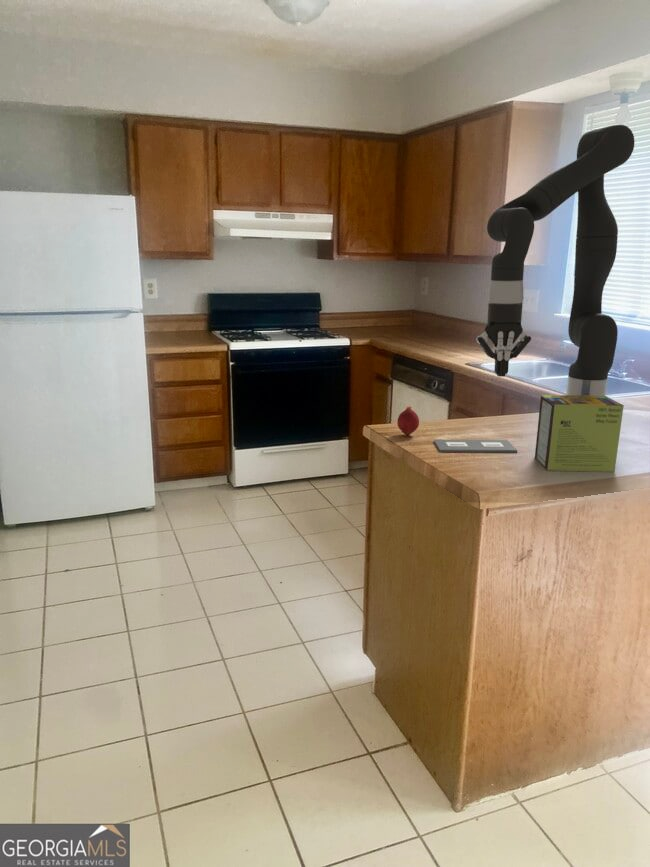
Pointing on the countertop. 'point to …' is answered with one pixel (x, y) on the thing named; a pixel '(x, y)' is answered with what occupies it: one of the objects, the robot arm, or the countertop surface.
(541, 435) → the protein box
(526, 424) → the countertop surface
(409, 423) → the onion
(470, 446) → the label panel
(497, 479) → the countertop surface
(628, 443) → the countertop surface
